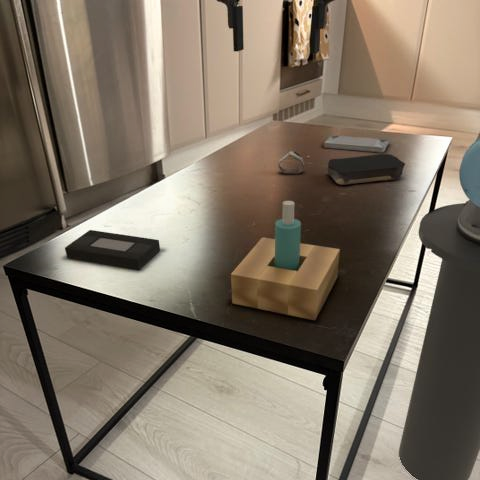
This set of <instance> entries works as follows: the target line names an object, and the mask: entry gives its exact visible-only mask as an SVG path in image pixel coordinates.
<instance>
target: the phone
mask: <svg viewBox="0 0 480 480" xmlns="http://www.w3.org/2000/svg"><path fill="white" fill-rule="evenodd" d="M388 145H389V139H387V138H376V137H362V136H350V135H349V136H348V135H335V134H331V135H330V136H329V137H328V138H327V139H326V140H325V141H324V144H323V148H326V149H334V150H346V151H356V152H368V153H369V152H370V153H379V154H384V152H385V151H386V149H387V147H388Z"/></svg>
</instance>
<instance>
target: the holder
mask: <svg viewBox="0 0 480 480" xmlns="http://www.w3.org/2000/svg"><path fill="white" fill-rule="evenodd" d="M340 250H341V249H340V248H334V247H329V246H323V245H314V244H310V243H309V244H308V243H302V242H300V258H299V270H298V271H294V270H288V269H282V268H277V267H275V238H270V237H261V238H260V239H259V241H258V242H257V243H256V244H255V245H254V246H253V248H251V250H250V251H249V252H248V253H247V254H246V256H245V257H244V258H243V259H242V261H241V262H239V264H238V265H237V266H236V267H235V268H234V270H233V271H232V272H231V273H230V281H231V282H230V283H231V284H230V285H231V303H232V304H233V305H238V306H243V307H247V308H253V309H258V310H263V311H267V312H271V313H277V314H282V315H285V316H291V317H296V318H301V319H306V320H310V321H316V320H317V318H318V316H319V314H320V312H321V310H322V308H323V307H324V304H325V302H326V301H327V298H328V296H329V295H330V293H331V290H332V289H333V286H334V285H335V283H336V281H337V279H338V273H339V262H340V254H341V253H340Z"/></svg>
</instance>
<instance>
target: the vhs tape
mask: <svg viewBox="0 0 480 480" xmlns="http://www.w3.org/2000/svg"><path fill="white" fill-rule="evenodd" d="M160 245H161V244H160V240H159V239H154V238H148V237H141V236H135V235H127V234H121V233H114V232H106V231H101V230H94V229H89V230H88V231H86V232H85V233H84V234H82V235H81V236H79V237H78V238H76V239H74V240H73V241H71V243H69V244H68V245H66V246H65V247H64V250H65V255H66V258H68V259H74V260H80V261H86V262H91V263H97V264H102V265H103V264H104V265H109V266H113V267H114V266H115V267H119V268H127V269H132V270H138V271H139V270H141V269H142V268H143V267H144V266H145V265H147V264H148V263H149V262H150V261H151V260H152V259H153V258H154V257H155V256H156V255H157V254H158V253H159V252H160V251H161V246H160Z"/></svg>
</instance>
